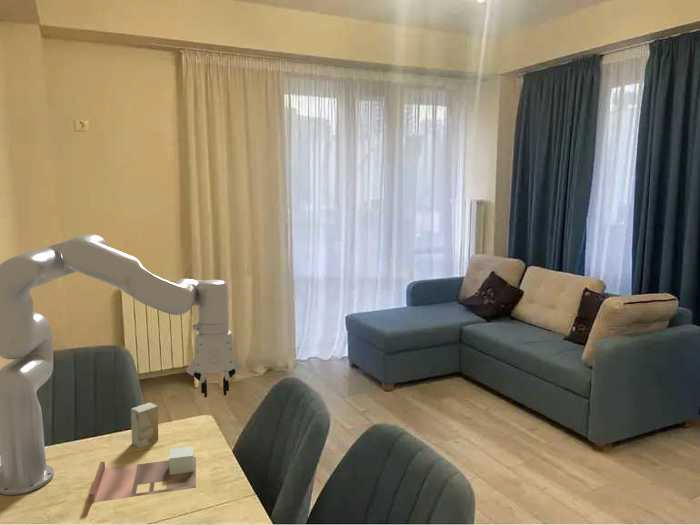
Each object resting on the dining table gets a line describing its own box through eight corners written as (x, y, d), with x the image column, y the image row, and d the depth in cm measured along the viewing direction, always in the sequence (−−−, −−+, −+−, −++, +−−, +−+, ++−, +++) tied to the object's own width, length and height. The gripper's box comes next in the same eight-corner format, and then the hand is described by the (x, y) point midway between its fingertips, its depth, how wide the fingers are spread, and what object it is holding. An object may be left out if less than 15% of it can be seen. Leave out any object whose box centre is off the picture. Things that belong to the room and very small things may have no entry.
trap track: (90, 508, 122) (89, 494, 122) (101, 474, 136) (100, 462, 136) (196, 492, 129) (195, 479, 128) (195, 461, 143) (195, 450, 143)
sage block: (169, 474, 134) (169, 458, 133) (170, 464, 139) (169, 449, 138) (193, 471, 136) (193, 455, 135) (193, 461, 140) (193, 446, 140)
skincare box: (139, 453, 147) (137, 412, 145) (131, 448, 150) (129, 408, 148) (160, 444, 152) (158, 405, 150) (151, 440, 155) (150, 401, 153)
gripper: (179, 333, 128) (181, 403, 131) (247, 329, 133) (248, 396, 136) (179, 325, 135) (182, 392, 138) (245, 322, 140) (246, 386, 143)
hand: (215, 393), depth 137 cm, fingers open, 4 cm apart
